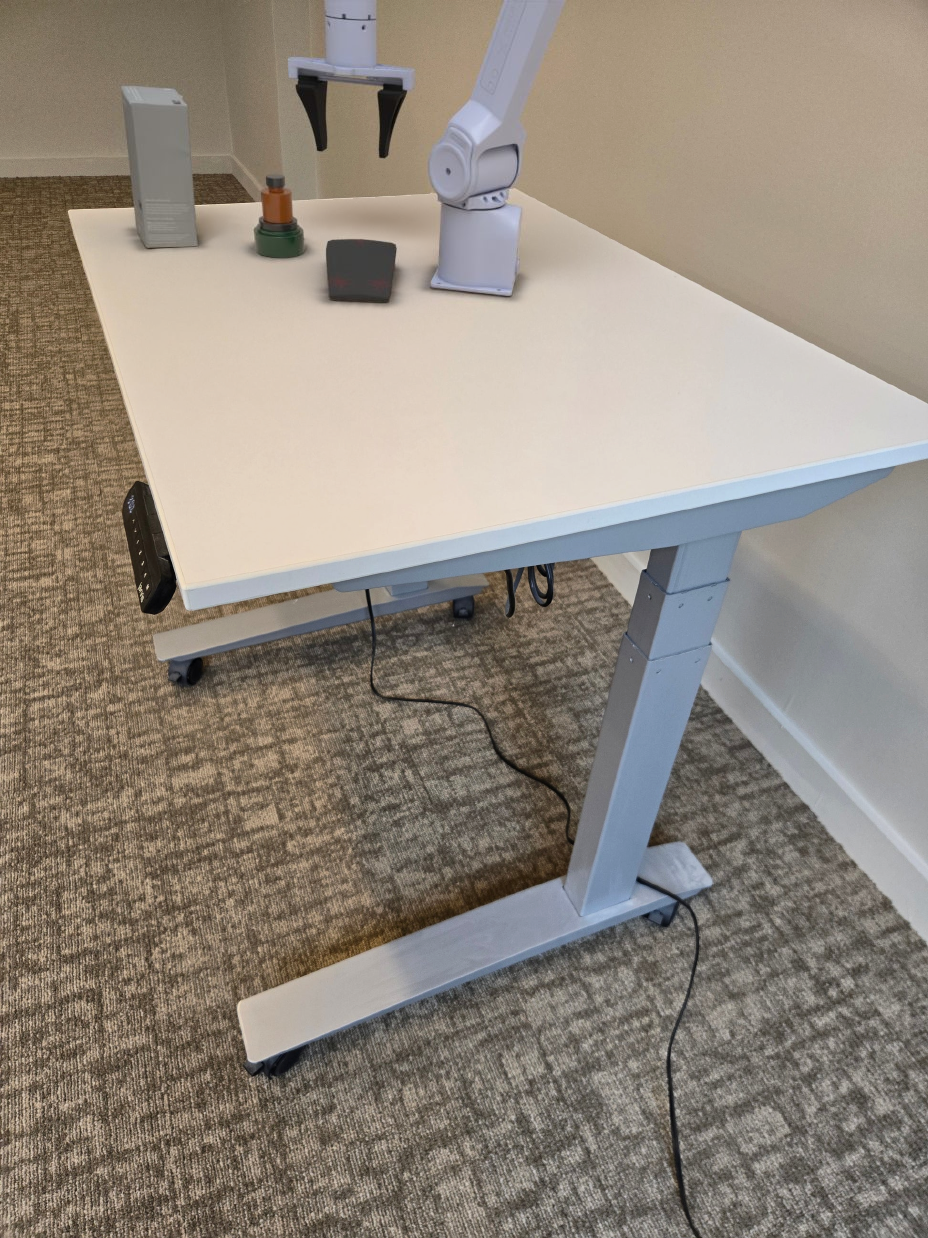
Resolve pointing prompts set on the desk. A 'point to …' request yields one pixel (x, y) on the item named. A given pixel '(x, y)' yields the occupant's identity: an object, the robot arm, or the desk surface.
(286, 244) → the green jar with lid
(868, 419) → the desk surface
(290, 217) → the amber bottle
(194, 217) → the cosmetic box
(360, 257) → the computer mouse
